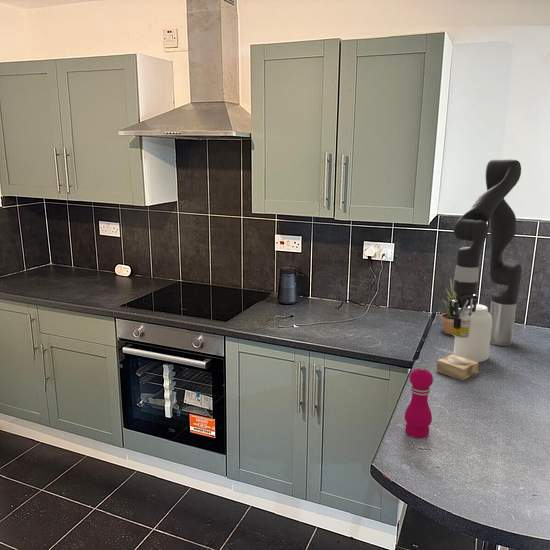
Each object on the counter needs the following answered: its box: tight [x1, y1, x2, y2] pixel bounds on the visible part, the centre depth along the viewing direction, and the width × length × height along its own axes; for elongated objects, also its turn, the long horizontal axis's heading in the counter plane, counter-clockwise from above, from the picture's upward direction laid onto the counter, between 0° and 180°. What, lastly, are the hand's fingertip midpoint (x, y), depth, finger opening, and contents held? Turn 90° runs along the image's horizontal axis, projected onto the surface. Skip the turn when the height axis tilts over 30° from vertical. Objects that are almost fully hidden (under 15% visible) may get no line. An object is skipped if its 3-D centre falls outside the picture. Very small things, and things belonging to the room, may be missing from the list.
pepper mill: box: [404, 363, 434, 439], centre depth 140 cm, size 7×7×20 cm
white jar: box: [452, 303, 492, 363], centre depth 194 cm, size 12×12×20 cm
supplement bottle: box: [452, 308, 471, 338], centre depth 178 cm, size 5×5×10 cm
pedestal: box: [436, 353, 480, 381], centre depth 181 cm, size 10×10×4 cm
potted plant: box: [440, 277, 456, 336], centre depth 220 cm, size 10×10×25 cm
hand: (461, 326), depth 178 cm, fingers closed on supplement bottle, 5 cm apart
